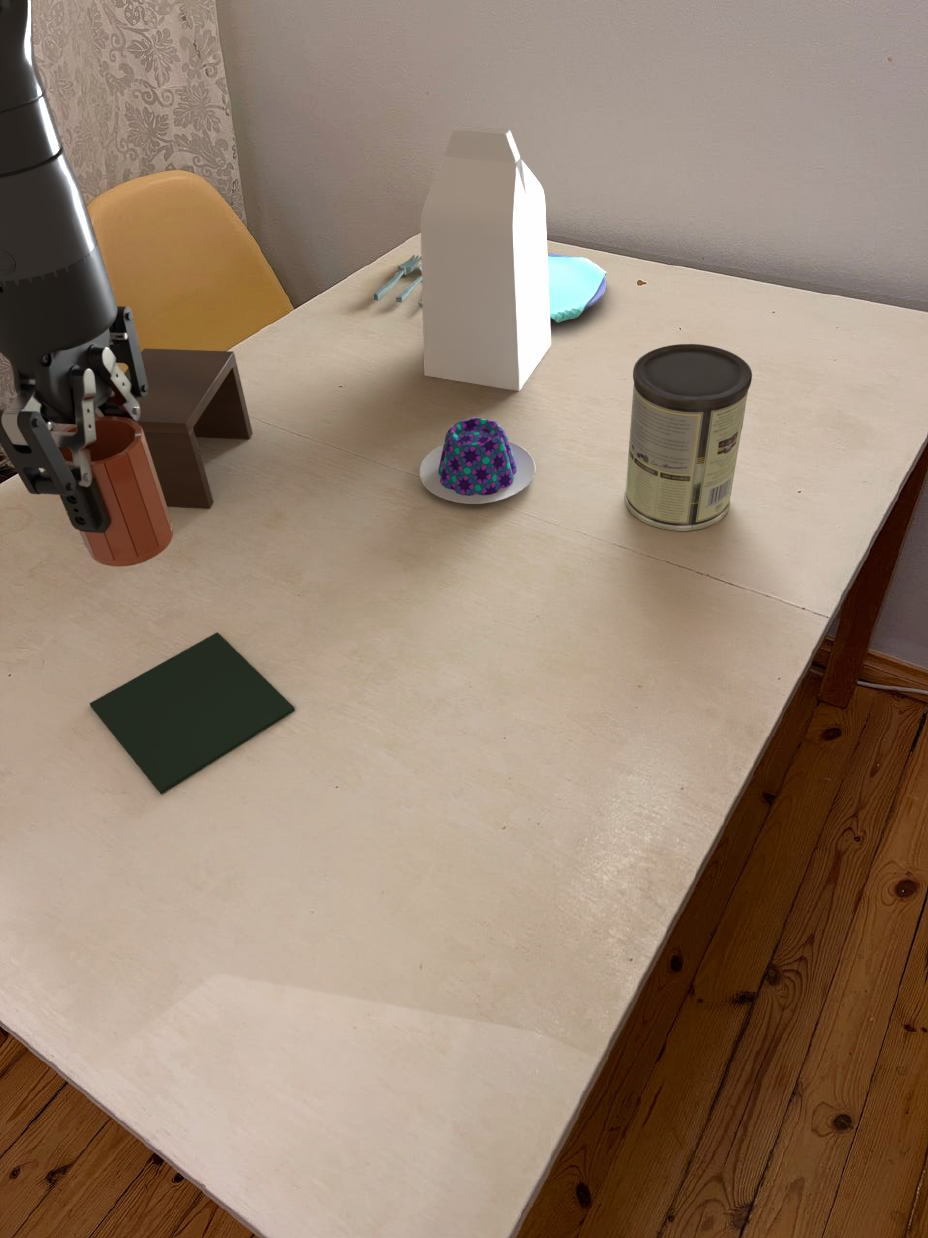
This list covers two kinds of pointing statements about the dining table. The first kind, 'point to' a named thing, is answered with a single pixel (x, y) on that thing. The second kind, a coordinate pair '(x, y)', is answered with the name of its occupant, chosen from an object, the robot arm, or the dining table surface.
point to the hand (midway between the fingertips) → (115, 497)
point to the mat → (190, 711)
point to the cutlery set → (567, 278)
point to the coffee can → (685, 435)
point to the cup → (125, 495)
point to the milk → (484, 264)
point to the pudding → (477, 464)
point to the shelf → (189, 416)
